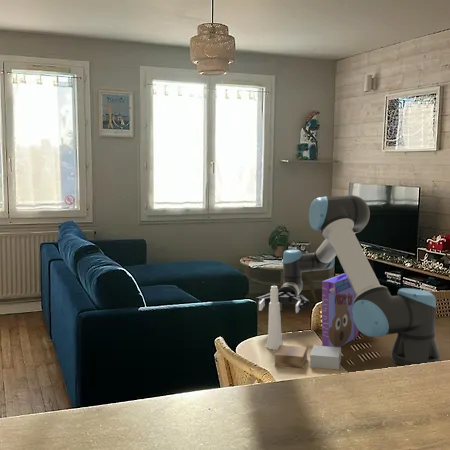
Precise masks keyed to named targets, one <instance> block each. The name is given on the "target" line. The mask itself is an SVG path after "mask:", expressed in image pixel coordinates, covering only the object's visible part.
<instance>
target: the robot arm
mask: <svg viewBox="0 0 450 450" xmlns="http://www.w3.org/2000/svg"><path fill="white" fill-rule="evenodd" d="M370 215H371V211H370V207H369V205H368V203H367V202H366V201H365V200H364V199H363V198H362V197H360V196H357V195H355V194H354V195H353V194H351V195H350V194H348V195H339V196H338V195H334V196H325V195H324V196H320V197H316V198H315V199H313V200H312V202H311V203H310V206H309V209H308V221H309V226H310V227H311V229H312V230H314V231H316V232H318V231H320V233H321V235H322V237H323V238H324V240H323V241H322V243H321V244H320V245H319V246H318V248H317V249H316V250H315V251H314V252H310V253H309V252H308V253H302V251H301V250H300V249H287V250H284V251H283V256H282V268H283V269H282V271H283V275H282V276H283V278H282V279H283V281H282V282H283V284H282V286H281V287H280V288H279V289H278V302H279V303H280V304H282V305H286V306H290V305H295V314H298V313H299V311H300V310H301V309H304V308H310V300H309V299H307V298H306V297H305V296H304V294H301V292H302V291H303V290H304V289H303V288H304V287H303V286H304V283H303V280H302V273H305V272H307V273H308V272H315V271H325V270H329V269H330V270H331V269H333V267H334V265H335V257H337V259H338V261H339V263H340V265H341V267H342V269H343V272H344V273H345V274H346V276H347V278H348V280H349V282H350V285H351V287H352V289H353V291H354V293H355V295H356V297H355V299H354V305H353V308H352V314H353V315H354V316H353V320H354V323H355V325H356V327H357V328H358V329H359V331H360V333H361V334H363V335H364V336H366V337H369V338H370V337H371V338H372V337H373V338H374V337H380V338H381V337H383V336H384V337H385V336H387V335H393V334H396V338H395V341H394V344H393V345H392V349H391V351H390V352H391V355H390V356H391V360H392V362H394V361H395V362H394V363H395V364H397V363H398V365H400V366H403V365H411V364H420V363H427V362H435V361H440V362H441V353H440V350H439V346H438V344H437V341H436V322H437V319H436V318H437V317H436V315H437V301H436V298H437V297H436V296H435V294H433V293H431V292H429V291H426V290H421V289H417V288H407V287H406V288H405V287H401V288H399V289H398V290H397V295H391V292H390V290H389V288H388V287H387V286H384V285H381V284H380V281H379V279H378V278H377V276H376V273H375V271H374V270H373V268H372V266H371V264H370V262H369V260H368V258H367V255H366V254H365V252H364V250H363V248H362V246H361V244H360V242H359V239H358V238H357V236H356V234H357V233H360V232H362V231H363V230H364V229H365V227H366V226H367V225H368V223H369V220H370V217H371V216H370ZM269 303H270V292H268V293H266V294H264V295H260V296H258V297H255V305H257V307H258V311H261V312H262V311H263V309H264V308H265V305H269Z"/></svg>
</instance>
